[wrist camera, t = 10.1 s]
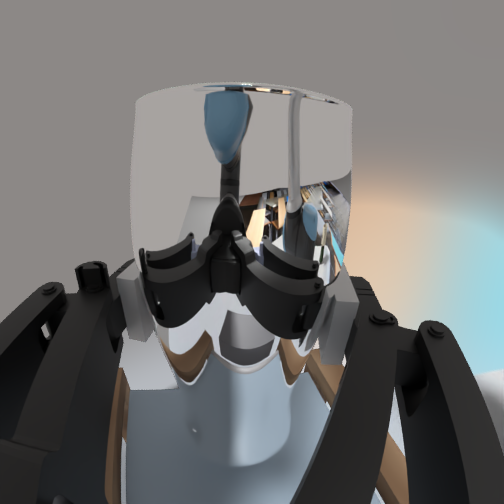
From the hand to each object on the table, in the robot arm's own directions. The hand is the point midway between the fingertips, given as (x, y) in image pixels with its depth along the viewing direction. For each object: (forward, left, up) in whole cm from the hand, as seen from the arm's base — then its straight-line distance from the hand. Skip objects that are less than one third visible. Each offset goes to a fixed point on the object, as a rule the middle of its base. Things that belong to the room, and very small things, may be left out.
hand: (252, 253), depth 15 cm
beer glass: (+2, +5, -8) cm, 10 cm away
